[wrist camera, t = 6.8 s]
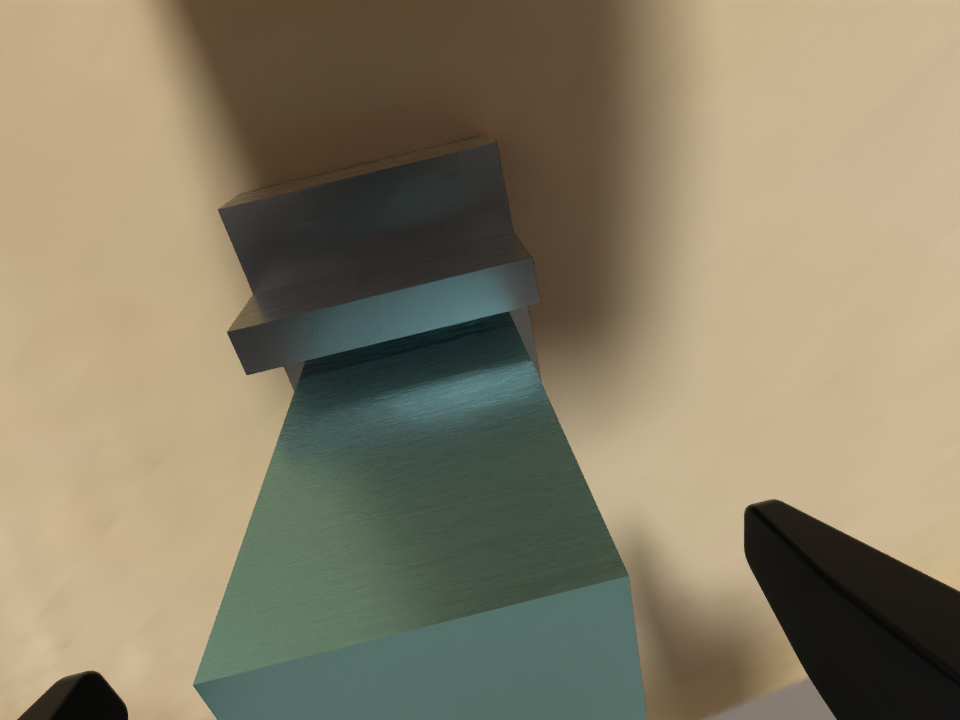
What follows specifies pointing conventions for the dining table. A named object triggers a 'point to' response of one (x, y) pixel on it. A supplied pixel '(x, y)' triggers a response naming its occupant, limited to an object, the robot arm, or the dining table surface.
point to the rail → (377, 256)
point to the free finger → (425, 551)
